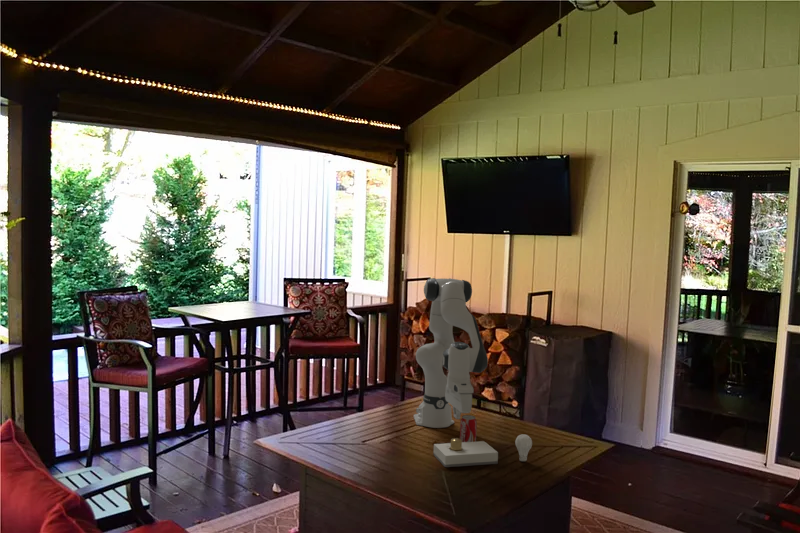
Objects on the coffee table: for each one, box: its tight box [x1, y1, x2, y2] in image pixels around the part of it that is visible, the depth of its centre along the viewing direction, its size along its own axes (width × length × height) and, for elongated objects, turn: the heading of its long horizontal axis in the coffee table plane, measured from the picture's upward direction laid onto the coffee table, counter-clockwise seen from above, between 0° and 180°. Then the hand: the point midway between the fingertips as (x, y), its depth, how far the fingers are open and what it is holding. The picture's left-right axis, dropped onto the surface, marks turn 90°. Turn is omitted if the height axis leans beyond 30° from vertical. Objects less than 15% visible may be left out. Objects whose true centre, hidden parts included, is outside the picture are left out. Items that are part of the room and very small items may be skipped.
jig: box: [432, 440, 499, 468], centre depth 252 cm, size 14×22×4 cm, turn 106°
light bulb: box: [514, 434, 533, 463], centre depth 252 cm, size 7×7×11 cm
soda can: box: [459, 414, 478, 442], centre depth 271 cm, size 7×7×12 cm
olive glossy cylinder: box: [450, 437, 462, 451], centre depth 251 cm, size 4×4×7 cm
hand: (456, 418), depth 251 cm, fingers closed
